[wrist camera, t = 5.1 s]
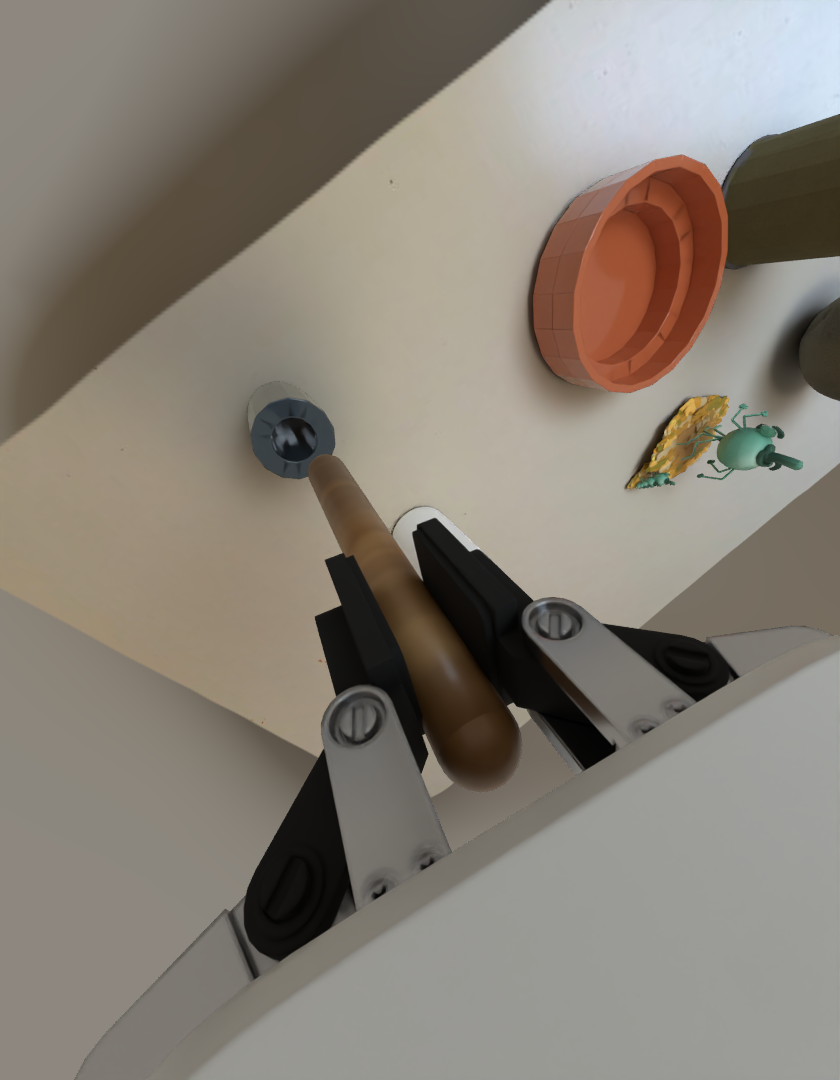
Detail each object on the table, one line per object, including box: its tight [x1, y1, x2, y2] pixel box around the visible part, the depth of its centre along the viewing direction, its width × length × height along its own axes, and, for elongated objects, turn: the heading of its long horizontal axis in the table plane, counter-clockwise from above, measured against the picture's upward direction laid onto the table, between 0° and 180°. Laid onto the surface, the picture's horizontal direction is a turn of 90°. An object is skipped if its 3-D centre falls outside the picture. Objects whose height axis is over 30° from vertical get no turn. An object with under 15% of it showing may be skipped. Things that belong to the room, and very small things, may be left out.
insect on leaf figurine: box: [627, 395, 803, 489], centre depth 46 cm, size 10×18×15 cm, turn 117°
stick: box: [308, 454, 522, 792], centre depth 13 cm, size 2×2×16 cm
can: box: [392, 507, 490, 581], centre depth 38 cm, size 6×6×12 cm
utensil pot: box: [247, 381, 335, 479], centre depth 29 cm, size 5×5×8 cm
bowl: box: [533, 155, 728, 393], centre depth 35 cm, size 16×16×6 cm
